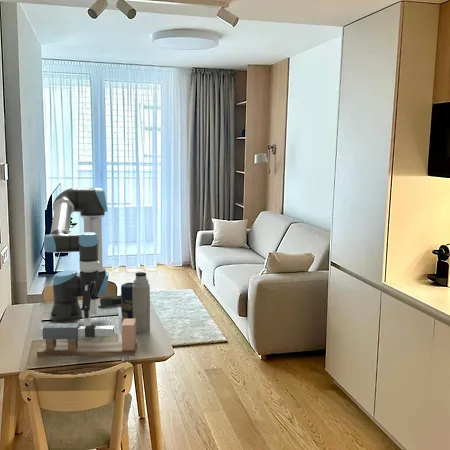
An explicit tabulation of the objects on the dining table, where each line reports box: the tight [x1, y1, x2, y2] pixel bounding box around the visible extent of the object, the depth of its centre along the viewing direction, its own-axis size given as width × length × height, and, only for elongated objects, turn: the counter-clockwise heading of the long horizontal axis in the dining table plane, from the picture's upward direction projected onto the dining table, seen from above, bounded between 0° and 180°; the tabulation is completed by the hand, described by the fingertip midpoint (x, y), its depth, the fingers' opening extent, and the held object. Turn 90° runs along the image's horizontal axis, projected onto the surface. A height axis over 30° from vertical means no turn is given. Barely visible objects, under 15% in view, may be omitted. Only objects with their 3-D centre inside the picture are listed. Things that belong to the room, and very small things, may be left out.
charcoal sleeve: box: [42, 322, 81, 340], centre depth 215 cm, size 5×14×5 cm, turn 94°
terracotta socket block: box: [121, 318, 137, 350], centre depth 217 cm, size 8×5×11 cm, turn 4°
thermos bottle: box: [132, 271, 151, 335], centre depth 239 cm, size 8×8×28 cm
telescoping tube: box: [40, 324, 115, 338], centre depth 215 cm, size 4×30×4 cm, turn 94°
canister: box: [120, 282, 134, 319], centre depth 258 cm, size 10×10×18 cm
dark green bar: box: [97, 295, 121, 308], centre depth 277 cm, size 5×3×15 cm
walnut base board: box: [36, 338, 139, 358], centre depth 216 cm, size 10×40×6 cm, turn 94°
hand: (90, 319), depth 214 cm, fingers open, 13 cm apart
